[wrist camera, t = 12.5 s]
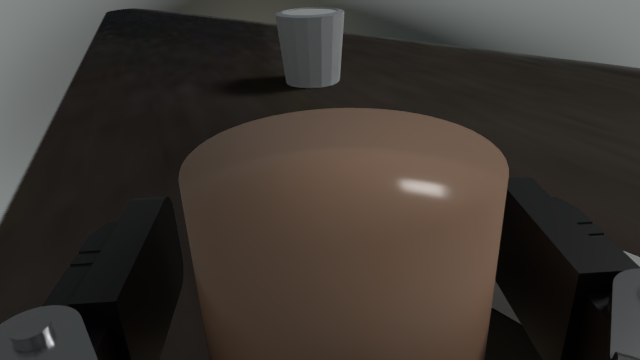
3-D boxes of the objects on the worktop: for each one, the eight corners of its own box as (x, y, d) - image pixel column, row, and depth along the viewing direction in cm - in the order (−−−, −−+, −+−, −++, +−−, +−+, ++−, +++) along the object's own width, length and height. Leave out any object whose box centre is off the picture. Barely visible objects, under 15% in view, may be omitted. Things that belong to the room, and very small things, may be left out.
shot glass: (267, 86, 53) (261, 15, 50) (299, 70, 58) (295, 5, 55) (328, 92, 50) (326, 17, 47) (355, 75, 56) (354, 7, 53)
